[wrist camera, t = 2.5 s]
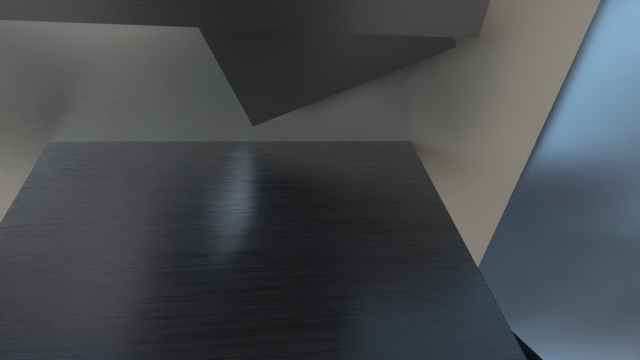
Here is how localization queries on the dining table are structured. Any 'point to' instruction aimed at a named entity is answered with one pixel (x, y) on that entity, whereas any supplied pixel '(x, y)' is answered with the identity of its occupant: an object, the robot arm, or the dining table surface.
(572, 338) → the dining table surface
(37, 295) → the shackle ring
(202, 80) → the tie plate
